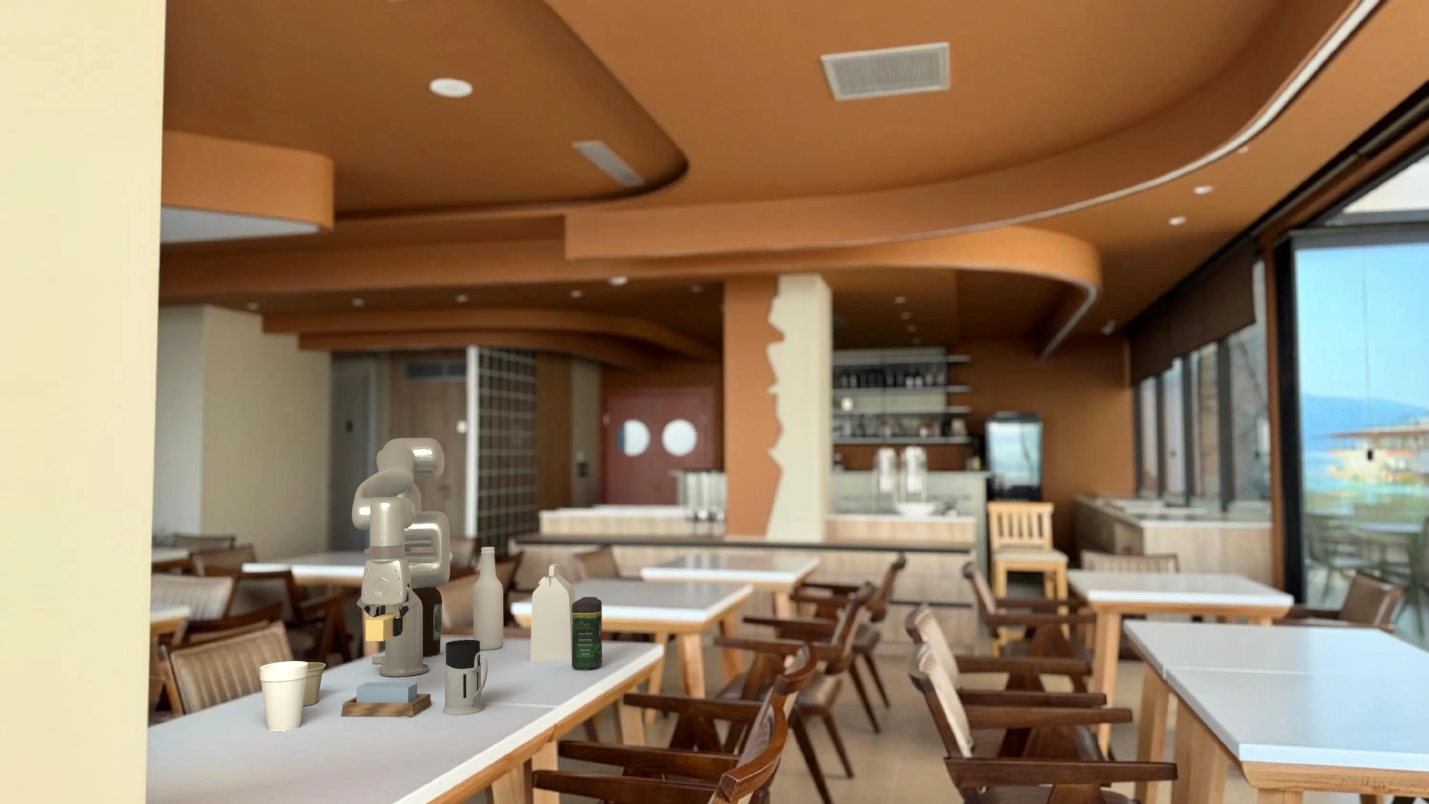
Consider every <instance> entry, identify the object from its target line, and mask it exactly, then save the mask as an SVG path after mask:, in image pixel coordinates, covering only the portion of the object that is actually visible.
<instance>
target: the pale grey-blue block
mask: <svg viewBox="0 0 1429 804" xmlns="http://www.w3.org/2000/svg"><path fill="white" fill-rule="evenodd" d="M417 694H418V682H381V681H380V682H374V681H373V682H365V683H363V684H361V685H359V686H356V697H357V702H363V703H411V702H413V701H415V700H416V699H417Z"/></svg>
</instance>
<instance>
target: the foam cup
mask: <svg viewBox="0 0 1429 804" xmlns="http://www.w3.org/2000/svg"><path fill="white" fill-rule="evenodd" d="M307 676H308V662H307V661H300V660H299V661H298V660H293V661H291V660H289V661H278V662H271V663H266V664H264V665H261V666H260V668H259V681H260V683H261V690H262V697H263V706H264V714H265V719H266V728H267V731H268V730H270V731H269V732H272V731H282V732H287V731H286V730H289V731H292V730H291V729H293V730H296V729H295V728H297V727H299V726H301V722H302V714H303V707H304V706H303V699H304V692H305V684H306V677H307ZM299 728H300V727H299ZM297 729H298V728H297Z"/></svg>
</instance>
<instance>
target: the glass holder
mask: <svg viewBox="0 0 1429 804" xmlns="http://www.w3.org/2000/svg"><path fill="white" fill-rule="evenodd" d="M481 656H482V658H483V662H484V671H483V672H484V673H483V678H482V663H481ZM444 661H445V662H444V708H443V710H442V713H443V714H444V713H445V715H447V714H448V716H466V715H467V716H469V715H473V714H477V713H480V712H482V711H483V710H484V707H483V705H482V691H483V689H484V688H485V685H486V682H487V677H488V672H489V671H488V669H489V667H488V665H489V664H488V663H489V662H488V658H487V655H486V653H485V652H484V651H481V650H480V641H478V640H473V639H459V640H458V639H456V640H451V641H448V642H446V643H445V660H444Z"/></svg>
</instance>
